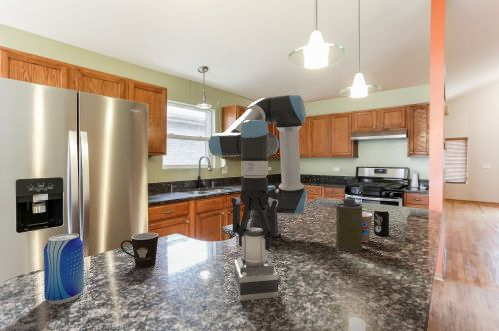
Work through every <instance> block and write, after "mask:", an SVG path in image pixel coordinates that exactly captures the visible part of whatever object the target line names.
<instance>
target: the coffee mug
mask: <svg viewBox="0 0 499 331" xmlns="http://www.w3.org/2000/svg"><path fill="white" fill-rule="evenodd" d="M158 242H159V233H156V232H141V233H136V234H133V235H132V236H131V240H130V239H125V240H123V241H121V243H120V249H121V250H122V251H123V252H124V253H126V254H127V256H130V257H132V258H133V259H134V266H135V268H137V269H141V270H142V269H149V268H152V267H155V265H156V260H157V251H158ZM124 243H130V245H131V246H132V249H133V250H132V252H133V254H132V253H130V252H129V251H127V250H126V249H125V248H124V247H123V246H124Z"/></svg>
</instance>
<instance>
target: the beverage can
mask: <svg viewBox="0 0 499 331" xmlns="http://www.w3.org/2000/svg"><path fill="white" fill-rule="evenodd" d="M373 234H374V235H375V236H377V235H378V236H377V237H383V236H385V237H388V236H389V235H390V213H389V210H388V209H385V208H375V209H374V211H373Z"/></svg>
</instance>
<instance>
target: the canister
mask: <svg viewBox="0 0 499 331" xmlns="http://www.w3.org/2000/svg"><path fill="white" fill-rule="evenodd" d="M342 201H343V203H336V204H335V208H336V209H335V213H336V215H335V216H336V217H335V218H336V219H335V225H336V226H335V227H336V228H335V238H336V239H335V248H337V249H339V250H341V251H344V252H352V253H353V252H354V253H355V252H361V251H362V250H363V249H364V248H363V243H362V212H363V207H364V206H363V205H362V204H360V203H357V202H356V200H355V198H350V197H349V198H343V199H342Z"/></svg>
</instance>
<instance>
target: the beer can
mask: <svg viewBox="0 0 499 331" xmlns="http://www.w3.org/2000/svg"><path fill="white" fill-rule="evenodd" d="M43 272H44V274H43V277H44V280H43V281H44V284H43V285H44V286H43V287H44V289H43V290H44V300H46V301H47V302H48V304H50V305H54V304H57V305H62V304H63V303H64V304H67V303H70V302H73V301H75V300H76V299H78V298H79V297H80V296H81V295H82V294H81V293H83V291H84V289H85V288H84V287H85V284H84V276H85V275H84V274H85V273H84V241H83V240H81V238H80V235H79V233H62V234H57V235H53V236H50V237H48V239H47V242H46V245H45V246H44V247H43ZM66 302H67V303H66ZM64 304H63V305H64Z"/></svg>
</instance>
